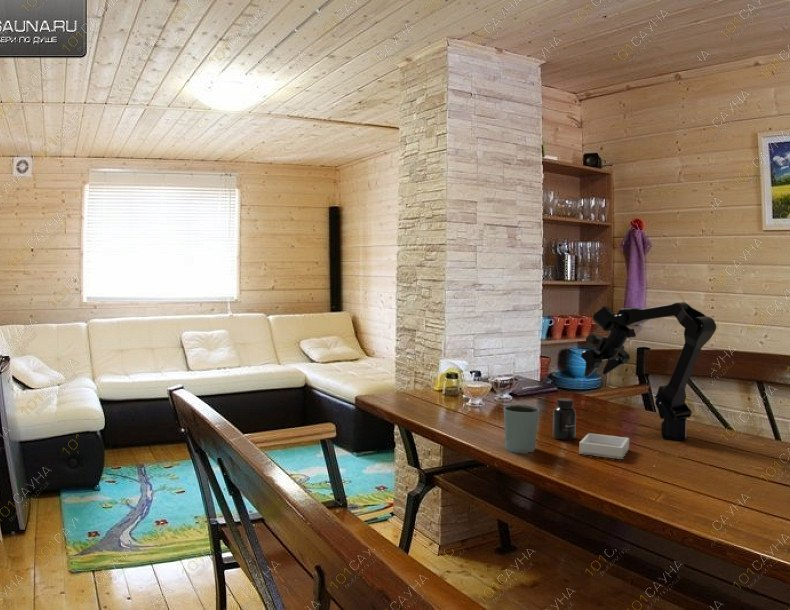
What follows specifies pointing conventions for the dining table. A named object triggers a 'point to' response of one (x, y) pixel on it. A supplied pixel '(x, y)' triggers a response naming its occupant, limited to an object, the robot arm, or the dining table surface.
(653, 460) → the dining table surface
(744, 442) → the dining table surface
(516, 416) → the grey-green cup
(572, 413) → the supplement bottle
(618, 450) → the tray
